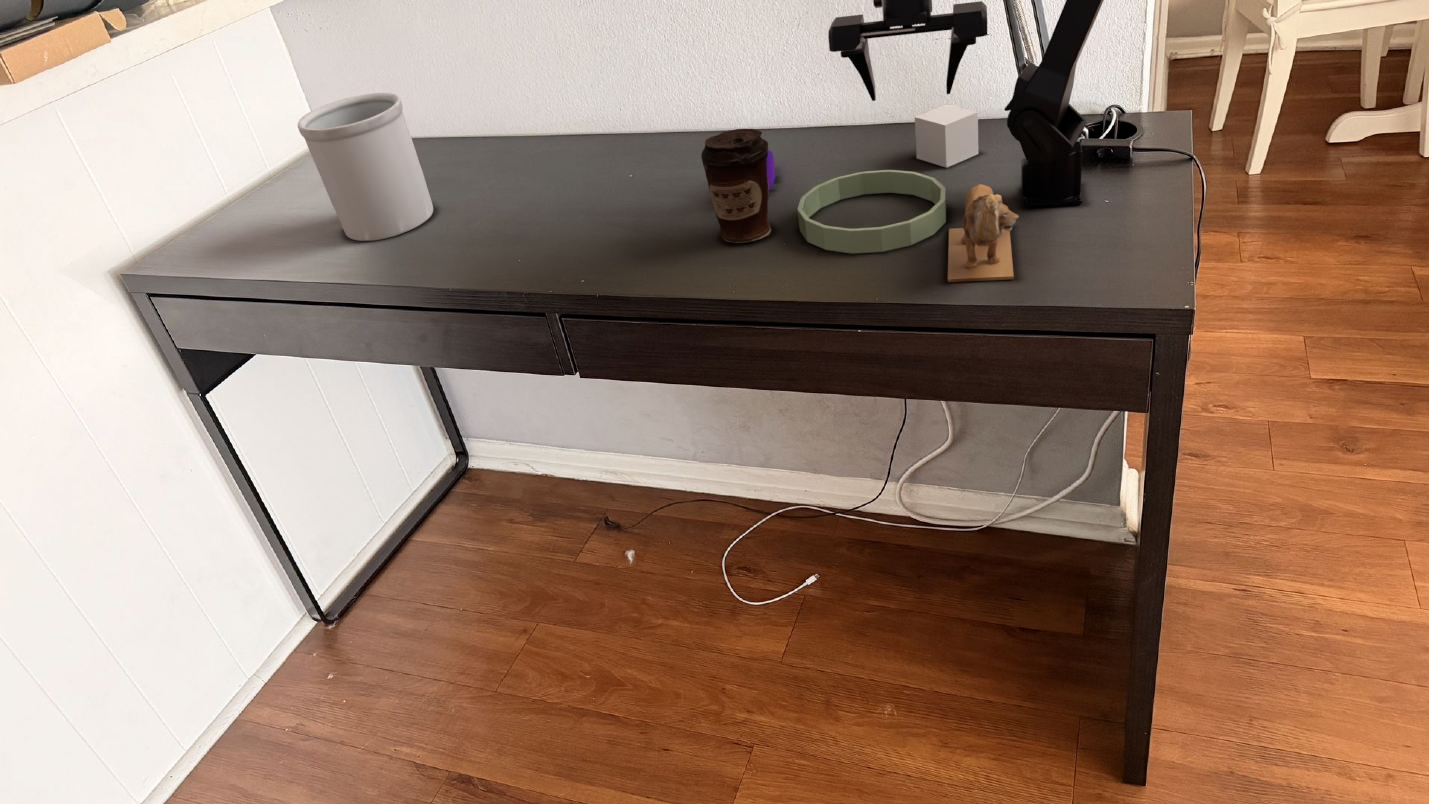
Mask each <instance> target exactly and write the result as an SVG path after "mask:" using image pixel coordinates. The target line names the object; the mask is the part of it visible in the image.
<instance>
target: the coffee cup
mask: <svg viewBox="0 0 1429 804" xmlns="http://www.w3.org/2000/svg"><path fill="white" fill-rule="evenodd" d="M762 134H763V132H762V131H761V130H757V129H754V128H736V129H732V130H728V131H722V132H720V133H719V134H717V135H712V136H710V137H708V138H706V139H705V140H704V148H703V149H702V151H701V154H700V159H701V161H702V166H703V168H704V172H705V178H706V181H707V185H708V186H707V187H708V191H709V194H710V198H711V202H712V207H713V211H714V213H715V217H716V220H717V223H718V226H719V229H720V230H719V231H720V236H721V238H722V239H723V240H724V241H725V242H728V243H734V244H744V243H750V242H754V241H758V240H761V239H763V238H765V237H768V236H770V235H771V232H772V228H771V225H770V223H769V219H768V217H769V216H768V211H769V197H770V192H769V191H770V190H769V183H768V176H767V157H768V150H769V142H768V141H767V140H766V139H764V138H762Z"/></svg>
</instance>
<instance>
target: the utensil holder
mask: <svg viewBox="0 0 1429 804" xmlns="http://www.w3.org/2000/svg"><path fill="white" fill-rule="evenodd" d="M403 110H404V109H403V102H402V100H401V98H400V96H399V95H397V94H395V93H391V92H373V93H367V94H366V93H365V94H359V95H355V96H350V97H346V98H342V99H339V100H335V101H333V102H330V103H326V104H324V105H322V106H319V107H317V108H315V109H313V110H311V111H309V112H307V113H306V114H304V115H303V116H301V118H300V119H299V120H298V122H297V128H298V132H299V133H300V135H301V136H302V137H303V139H304V141H305V143H306V146H307V148H308V151H309V153H310V156H311V157H312V158H311V159H312V161H313V162H314V165H315V167H316V169H317V171H318V174H319V177H320V179H321V181H322V183H323V186H324V188H325V191H326V193H327V195H328V198H329V201H330V203H331V205H332V207H333V209H334V211H335V213H336V216H337V218H338V221H339V223H340V225H341V227H342V231H343V232H344V234H345V235H346V237H347V238H349V239H351V240H353V241H357V242H358V241H360V242H371V241H380V240H386V239H389V238H393V237H396V236H399V235H401V234H404V233H406V232H409V231H411V230H414V229H415V228H417V227H419V226H422V224H424V223H426V222H427V220H429V219H430V218H431V217H432V215H433V213H434V206H433V201H432V199H431V196H430V191H429V189H428V186H427V182H426V179H425V175H424V172H423V170H422V169H423V168H422V166H421V163H420V160H419V157H418V154H417V151H416V147H415V145H414V141H413V139H412V136H411V133H410V129H409V127H408V124H407V121H406V118H405V115H404V112H403Z"/></svg>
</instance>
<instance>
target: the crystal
mask: <svg viewBox="0 0 1429 804" xmlns="http://www.w3.org/2000/svg"><path fill="white" fill-rule="evenodd" d="M767 176H768V183H769V191H770V190H772V188H773V186H774V184H775V180H776V168H775V157H774V153H773V151H772V150H769V149H768V157H767Z"/></svg>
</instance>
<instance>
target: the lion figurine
mask: <svg viewBox="0 0 1429 804" xmlns="http://www.w3.org/2000/svg"><path fill="white" fill-rule="evenodd" d="M964 211H965V213H964V216H963V219H962V228H963V229H964V231H965V234H964V236H963V238H962V239H961V242H962V243H965V244H966V251H967V255H968V260H967V262H966V263H965V265H966V267H968V268H974V267H976V265H977V258H976V254H975V245H977V246H988V251H987V258H988V260H989V262H990V263H992V264H996V263H998V262H999V261H1001V259H1000V257H997V255H996V247H997V243H998V238H999V237H1000V236H1001V235H1002V230H1003V229H1005V230H1006V231H1010V232H1011V231H1012V230H1013V226H1014V224H1015V223H1016V221H1017V220H1018V219H1019V215H1018V214H1017V213H1015V212H1013V211H1011V210H1010V209H1009V207H1008V206H1007V205H1006V204H1004V203H1003V199H1002V195H1001V194H997V193H995V194H994V191H993V189H992V188H991V187H990V186H989V185H985V184H982V183H978V184H976V185H975V186H973V187H971V188H970V189H969V191H968V193H967V195H966V198H965V210H964Z"/></svg>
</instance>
